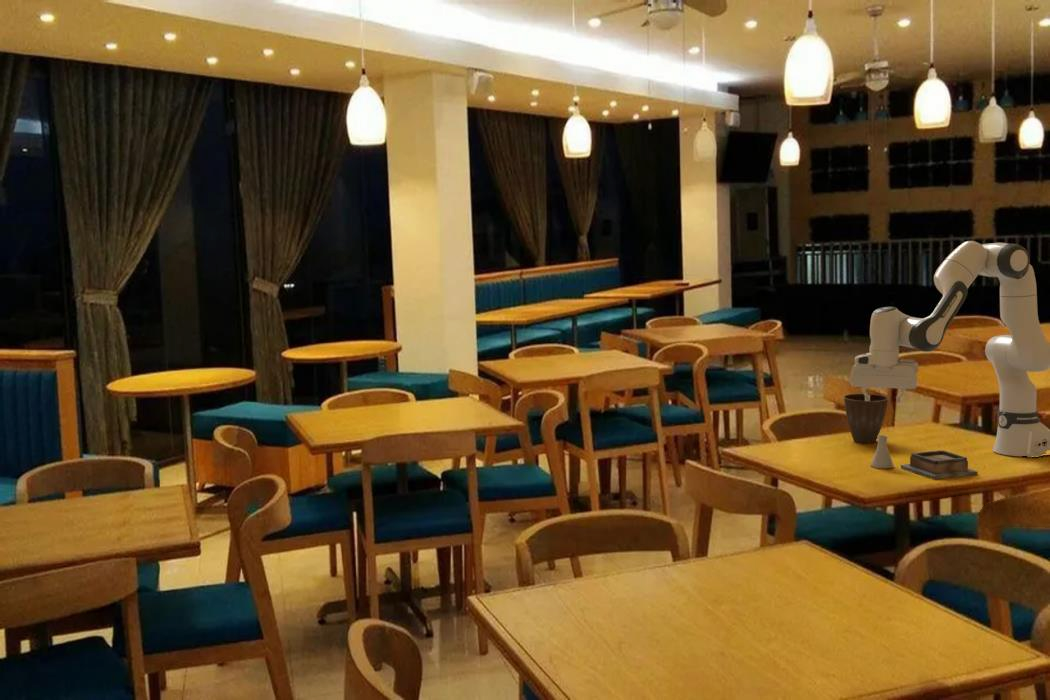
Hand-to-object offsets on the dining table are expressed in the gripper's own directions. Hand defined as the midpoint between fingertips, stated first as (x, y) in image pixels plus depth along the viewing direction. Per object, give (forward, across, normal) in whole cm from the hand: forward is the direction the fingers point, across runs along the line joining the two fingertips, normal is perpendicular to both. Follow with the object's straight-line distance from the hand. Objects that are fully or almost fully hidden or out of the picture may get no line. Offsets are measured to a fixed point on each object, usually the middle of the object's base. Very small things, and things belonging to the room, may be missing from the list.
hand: (882, 401), depth 335 cm
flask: (+21, 0, 0) cm, 21 cm away
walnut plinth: (+21, -17, +1) cm, 27 cm away
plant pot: (+21, +9, -37) cm, 44 cm away
